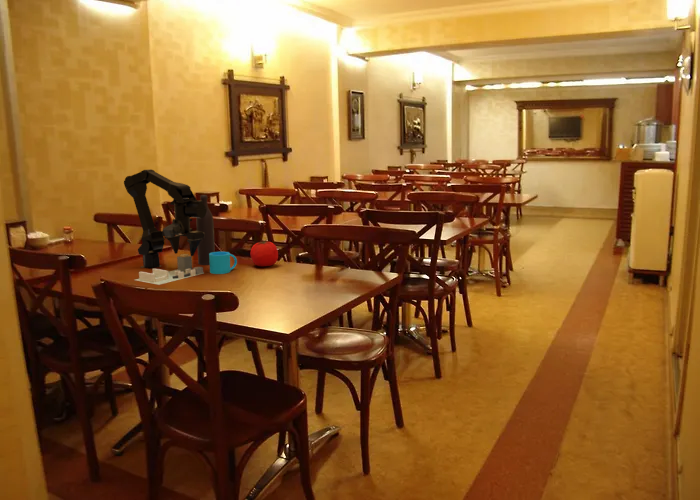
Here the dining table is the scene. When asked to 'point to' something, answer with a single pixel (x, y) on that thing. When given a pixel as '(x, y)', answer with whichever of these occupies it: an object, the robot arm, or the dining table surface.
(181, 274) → the clamp and clips
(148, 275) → the holder
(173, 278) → the cable
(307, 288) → the dining table surface
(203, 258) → the wine bottle
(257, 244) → the tomato
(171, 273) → the board
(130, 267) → the dining table surface
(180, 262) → the block
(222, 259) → the mug
